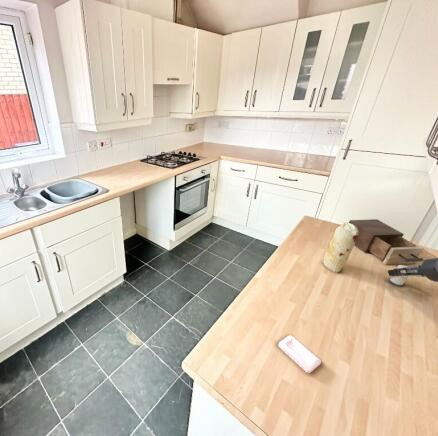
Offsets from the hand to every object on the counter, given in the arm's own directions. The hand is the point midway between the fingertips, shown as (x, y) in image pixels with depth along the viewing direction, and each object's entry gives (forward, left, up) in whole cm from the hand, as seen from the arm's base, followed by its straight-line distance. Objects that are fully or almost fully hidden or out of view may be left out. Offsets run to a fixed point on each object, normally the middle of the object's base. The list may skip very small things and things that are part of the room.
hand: (394, 272), depth 91 cm
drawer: (-9, -14, -3) cm, 17 cm away
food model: (+18, -6, -4) cm, 19 cm away
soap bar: (+47, +36, -4) cm, 59 cm away
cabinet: (-7, -26, -4) cm, 27 cm away
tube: (0, +2, -4) cm, 4 cm away
